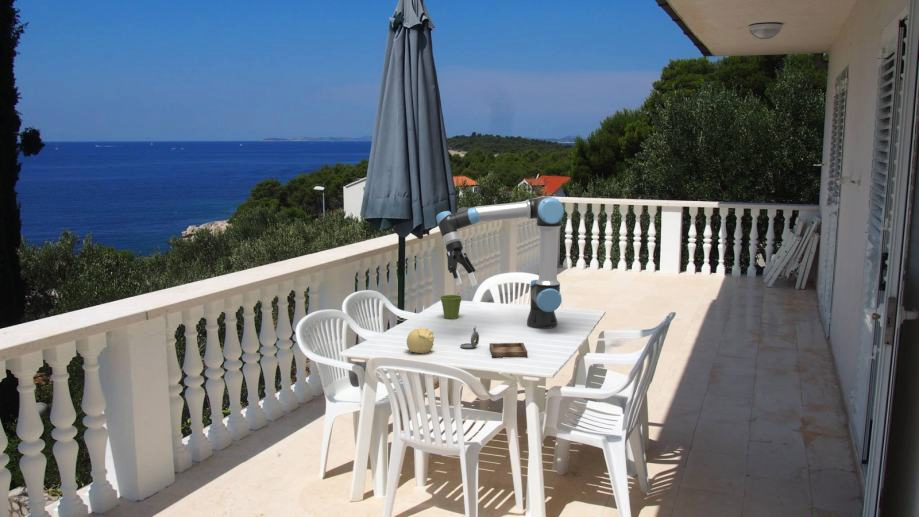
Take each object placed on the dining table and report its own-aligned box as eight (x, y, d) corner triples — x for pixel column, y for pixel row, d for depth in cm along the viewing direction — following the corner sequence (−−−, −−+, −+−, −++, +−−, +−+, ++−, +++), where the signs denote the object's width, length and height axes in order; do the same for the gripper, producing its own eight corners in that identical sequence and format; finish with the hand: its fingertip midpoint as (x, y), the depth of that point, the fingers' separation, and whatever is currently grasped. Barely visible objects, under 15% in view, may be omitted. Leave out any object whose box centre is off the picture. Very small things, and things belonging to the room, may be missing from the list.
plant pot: (466, 316, 398) (466, 295, 396) (454, 321, 388) (454, 299, 386) (448, 314, 404) (447, 293, 403) (435, 318, 394) (435, 297, 393)
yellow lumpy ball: (431, 355, 325) (430, 331, 323) (404, 354, 327) (403, 330, 325) (436, 348, 336) (436, 325, 334) (410, 347, 338) (409, 324, 336)
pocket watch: (459, 345, 341) (459, 324, 339) (478, 345, 341) (478, 323, 340) (461, 350, 333) (461, 328, 331) (480, 349, 333) (480, 327, 332)
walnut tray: (523, 348, 335) (523, 342, 335) (527, 357, 320) (527, 351, 320) (489, 348, 335) (489, 343, 334) (492, 358, 320) (492, 352, 320)
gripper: (460, 248, 363) (474, 289, 357) (431, 244, 342) (446, 287, 336) (473, 242, 360) (487, 283, 354) (444, 237, 339) (459, 281, 333)
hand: (467, 285), depth 345 cm, fingers open, 13 cm apart
